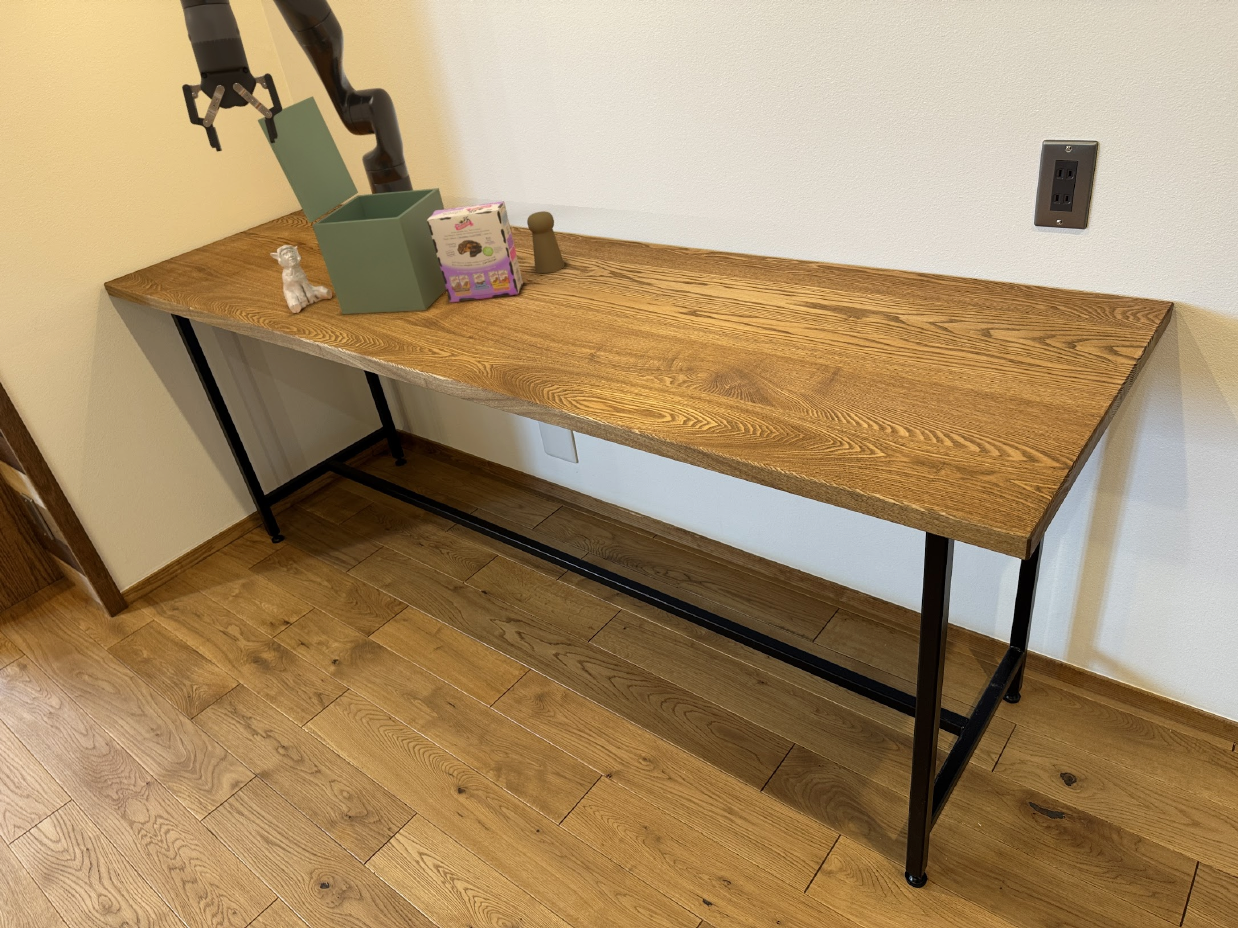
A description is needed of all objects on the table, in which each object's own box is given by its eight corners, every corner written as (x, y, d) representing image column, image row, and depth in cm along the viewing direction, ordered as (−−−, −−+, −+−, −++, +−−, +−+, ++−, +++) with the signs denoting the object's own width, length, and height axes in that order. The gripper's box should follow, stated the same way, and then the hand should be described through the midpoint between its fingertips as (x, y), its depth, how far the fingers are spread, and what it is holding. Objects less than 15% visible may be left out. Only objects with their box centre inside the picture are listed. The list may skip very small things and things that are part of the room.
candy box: (524, 283, 172) (505, 199, 163) (518, 295, 167) (498, 209, 159) (456, 291, 174) (434, 208, 166) (448, 303, 170) (425, 218, 161)
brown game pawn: (569, 261, 179) (558, 207, 173) (558, 273, 174) (547, 218, 169) (542, 262, 181) (531, 208, 175) (530, 273, 177) (518, 219, 171)
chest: (461, 274, 182) (438, 188, 173) (425, 310, 168) (398, 218, 159) (383, 279, 188) (357, 195, 178) (342, 314, 174) (311, 225, 164)
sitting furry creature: (294, 315, 177) (272, 257, 171) (273, 308, 183) (251, 252, 176) (334, 297, 183) (315, 240, 176) (313, 291, 188) (293, 236, 182)
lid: (313, 96, 169) (291, 104, 171) (260, 118, 155) (238, 127, 157) (358, 192, 178) (337, 199, 180) (312, 222, 164) (290, 228, 166)
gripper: (263, 35, 145) (291, 140, 152) (171, 46, 142) (203, 153, 149) (261, 31, 139) (290, 141, 145) (164, 43, 135) (198, 154, 142)
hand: (246, 147), depth 147 cm, fingers open, 8 cm apart
